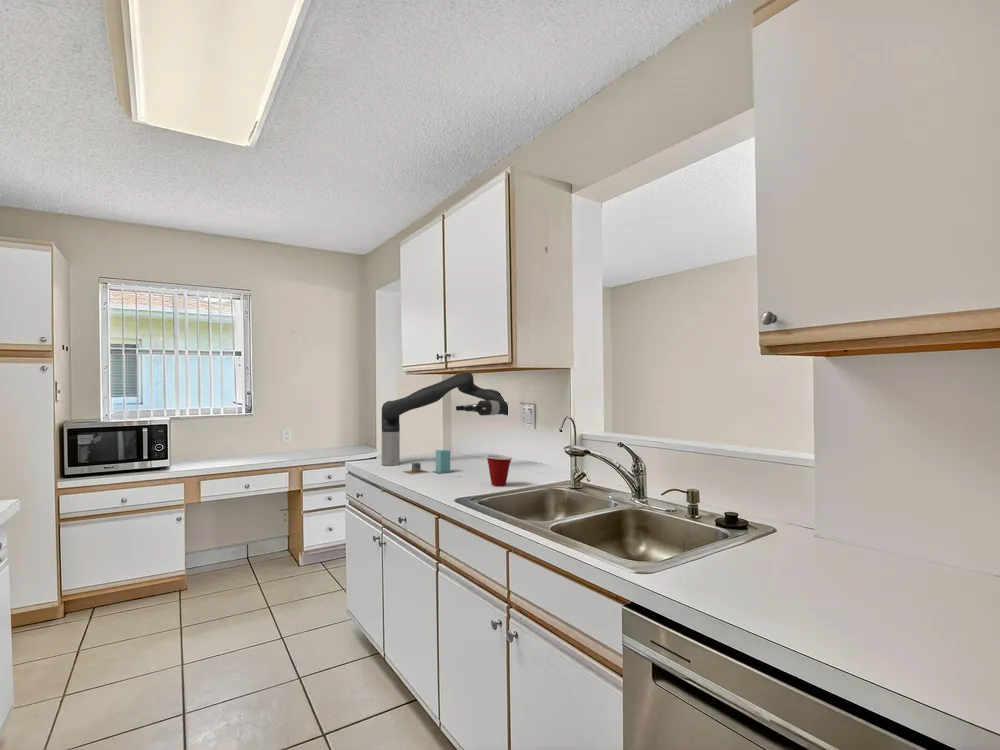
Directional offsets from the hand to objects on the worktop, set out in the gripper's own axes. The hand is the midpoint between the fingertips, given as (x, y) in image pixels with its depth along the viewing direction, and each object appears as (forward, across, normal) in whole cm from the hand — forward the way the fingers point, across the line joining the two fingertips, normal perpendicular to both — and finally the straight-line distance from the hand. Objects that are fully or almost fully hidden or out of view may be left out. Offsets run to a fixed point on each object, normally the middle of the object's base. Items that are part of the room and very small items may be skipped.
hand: (460, 408), depth 253 cm
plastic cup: (+6, +42, +30) cm, 52 cm away
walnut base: (+22, -3, +30) cm, 37 cm away
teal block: (+12, +4, +29) cm, 32 cm away
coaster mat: (+12, +4, +30) cm, 33 cm away
